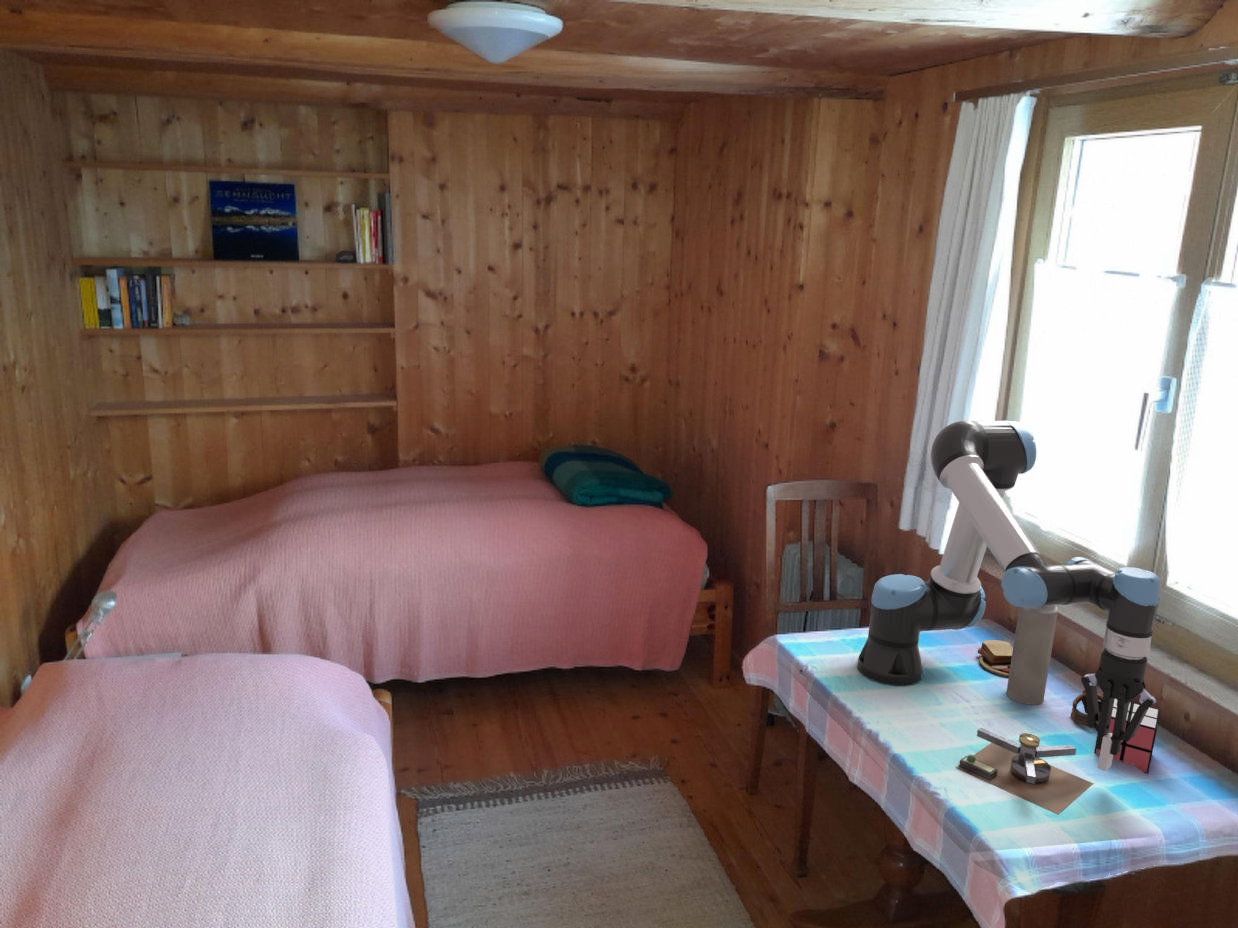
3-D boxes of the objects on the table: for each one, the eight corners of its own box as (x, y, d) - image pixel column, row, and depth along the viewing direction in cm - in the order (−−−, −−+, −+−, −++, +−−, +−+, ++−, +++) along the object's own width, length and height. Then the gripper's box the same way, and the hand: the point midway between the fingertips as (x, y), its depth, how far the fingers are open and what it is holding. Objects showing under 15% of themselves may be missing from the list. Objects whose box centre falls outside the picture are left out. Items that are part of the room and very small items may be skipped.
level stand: (954, 772, 186) (957, 754, 185) (992, 746, 196) (995, 729, 196) (1057, 820, 172) (1060, 801, 171) (1092, 788, 182) (1095, 770, 181)
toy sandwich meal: (990, 678, 228) (992, 660, 227) (969, 654, 241) (972, 637, 240) (1041, 680, 228) (1044, 662, 227) (1018, 656, 242) (1021, 639, 240)
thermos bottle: (1007, 685, 224) (1024, 573, 218) (1044, 693, 221) (1062, 580, 215) (1005, 699, 217) (1022, 584, 211) (1043, 707, 214) (1061, 591, 208)
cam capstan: (1025, 803, 174) (1031, 764, 172) (972, 751, 191) (977, 716, 189) (1100, 797, 177) (1107, 759, 175) (1041, 747, 194) (1047, 712, 192)
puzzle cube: (1148, 774, 188) (1157, 729, 186) (1092, 758, 193) (1100, 714, 191) (1151, 753, 197) (1160, 709, 194) (1098, 738, 202) (1105, 695, 199)
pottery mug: (1129, 739, 203) (1121, 711, 200) (1084, 751, 205) (1075, 724, 202) (1107, 700, 214) (1099, 674, 210) (1064, 712, 216) (1055, 686, 213)
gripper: (1080, 645, 177) (1061, 758, 182) (1156, 669, 168) (1133, 788, 173) (1096, 635, 182) (1077, 746, 187) (1170, 658, 173) (1148, 774, 178)
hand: (1104, 766), depth 180 cm, fingers closed
